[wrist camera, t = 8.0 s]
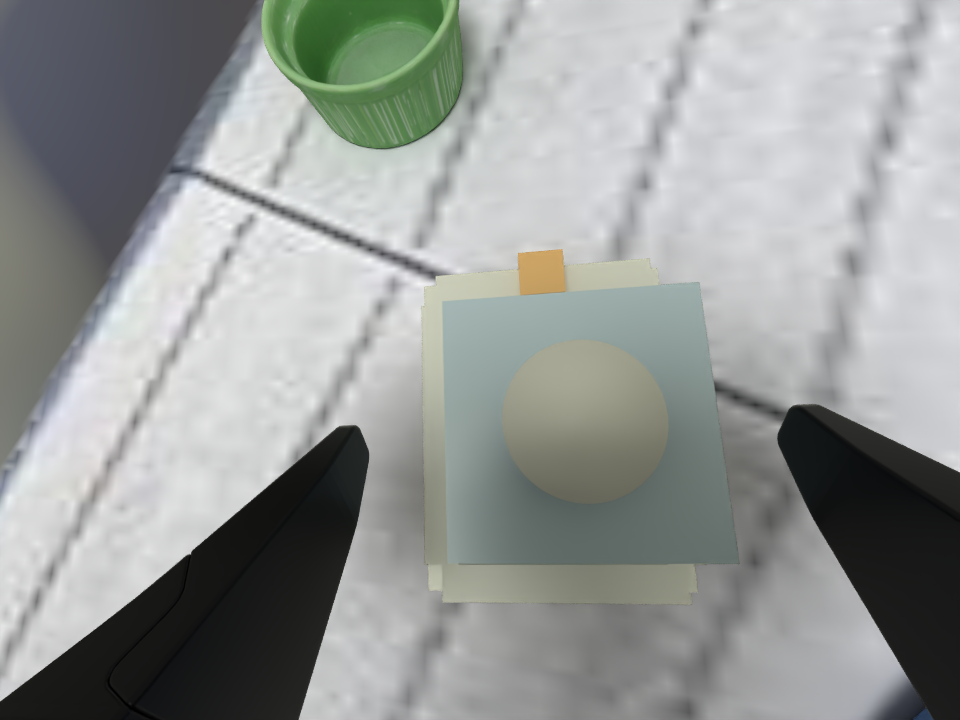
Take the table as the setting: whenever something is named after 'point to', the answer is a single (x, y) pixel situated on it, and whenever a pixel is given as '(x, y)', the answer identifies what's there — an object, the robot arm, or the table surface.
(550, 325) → the block
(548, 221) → the table surface
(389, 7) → the ramekin
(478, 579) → the pocket tray
